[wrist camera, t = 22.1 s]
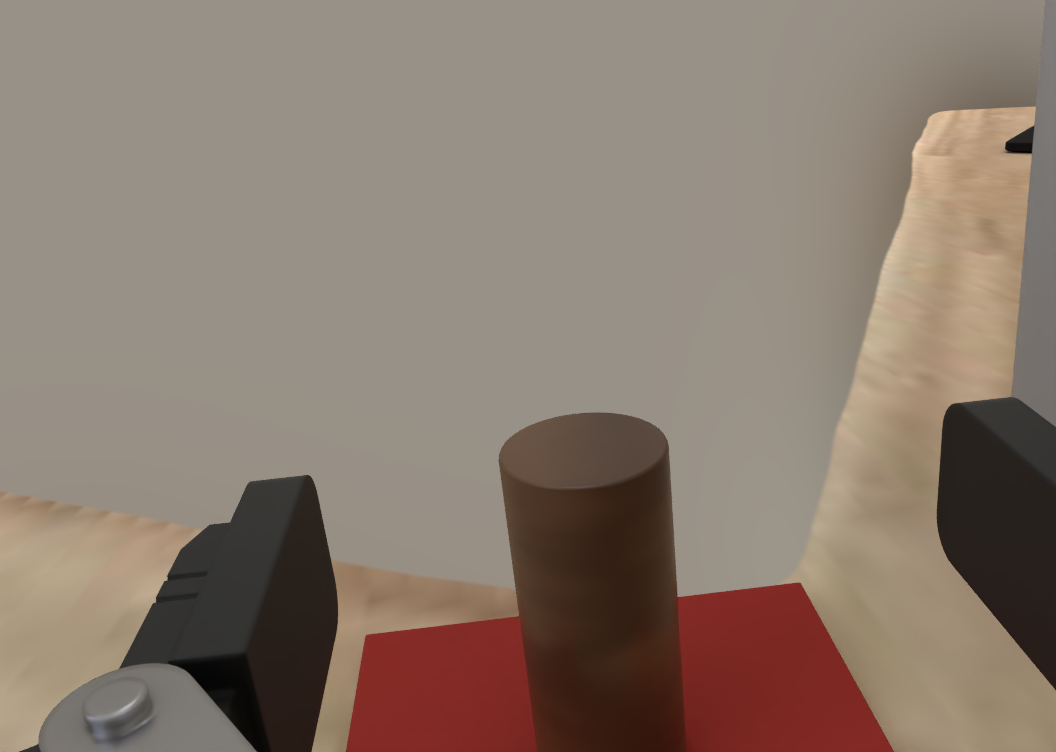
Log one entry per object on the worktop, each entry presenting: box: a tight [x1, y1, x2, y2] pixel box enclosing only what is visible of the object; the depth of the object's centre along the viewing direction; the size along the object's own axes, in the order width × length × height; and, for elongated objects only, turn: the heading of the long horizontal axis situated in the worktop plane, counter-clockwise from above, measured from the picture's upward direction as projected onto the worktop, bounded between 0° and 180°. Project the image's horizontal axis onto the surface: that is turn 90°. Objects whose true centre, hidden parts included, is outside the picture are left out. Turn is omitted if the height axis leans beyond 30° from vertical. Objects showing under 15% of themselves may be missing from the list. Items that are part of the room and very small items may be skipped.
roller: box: [499, 413, 686, 752], centre depth 27 cm, size 4×4×10 cm
